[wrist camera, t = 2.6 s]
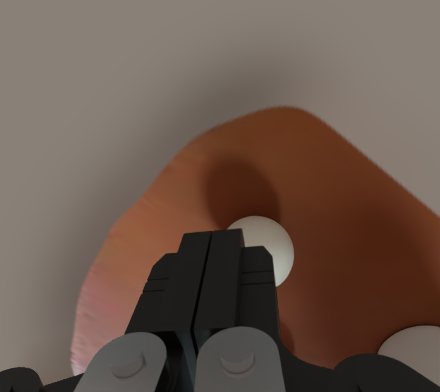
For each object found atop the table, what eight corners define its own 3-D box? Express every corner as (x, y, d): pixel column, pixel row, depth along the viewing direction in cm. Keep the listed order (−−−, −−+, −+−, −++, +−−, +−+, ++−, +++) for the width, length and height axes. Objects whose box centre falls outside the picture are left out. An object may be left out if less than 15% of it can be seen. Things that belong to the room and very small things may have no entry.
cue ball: (304, 226, 30) (315, 267, 25) (264, 274, 32) (266, 321, 27) (245, 190, 29) (243, 225, 24) (208, 242, 31) (199, 284, 26)
